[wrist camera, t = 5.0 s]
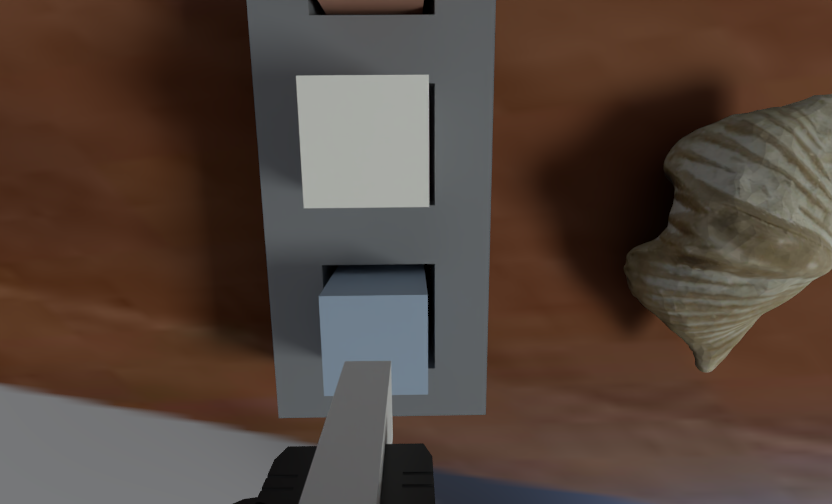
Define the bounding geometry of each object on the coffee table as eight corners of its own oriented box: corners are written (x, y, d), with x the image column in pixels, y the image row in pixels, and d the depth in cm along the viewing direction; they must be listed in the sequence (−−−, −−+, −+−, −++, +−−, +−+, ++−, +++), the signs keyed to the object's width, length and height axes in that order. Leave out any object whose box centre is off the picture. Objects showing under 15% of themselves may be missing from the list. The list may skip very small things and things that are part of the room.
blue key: (342, 259, 26) (318, 296, 19) (422, 258, 26) (427, 294, 19) (345, 335, 27) (324, 396, 20) (423, 334, 27) (428, 394, 20)
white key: (330, 99, 23) (295, 75, 16) (422, 99, 23) (428, 74, 16) (334, 193, 24) (303, 208, 17) (423, 192, 24) (429, 207, 17)
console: (273, -119, 24) (230, -206, 19) (478, -120, 25) (500, -207, 19) (304, 367, 30) (278, 417, 24) (470, 364, 30) (485, 414, 24)
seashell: (785, 398, 25) (854, 353, 17) (609, 344, 30) (597, 288, 22) (827, 183, 29) (899, 62, 21) (665, 165, 34) (672, 61, 26)
